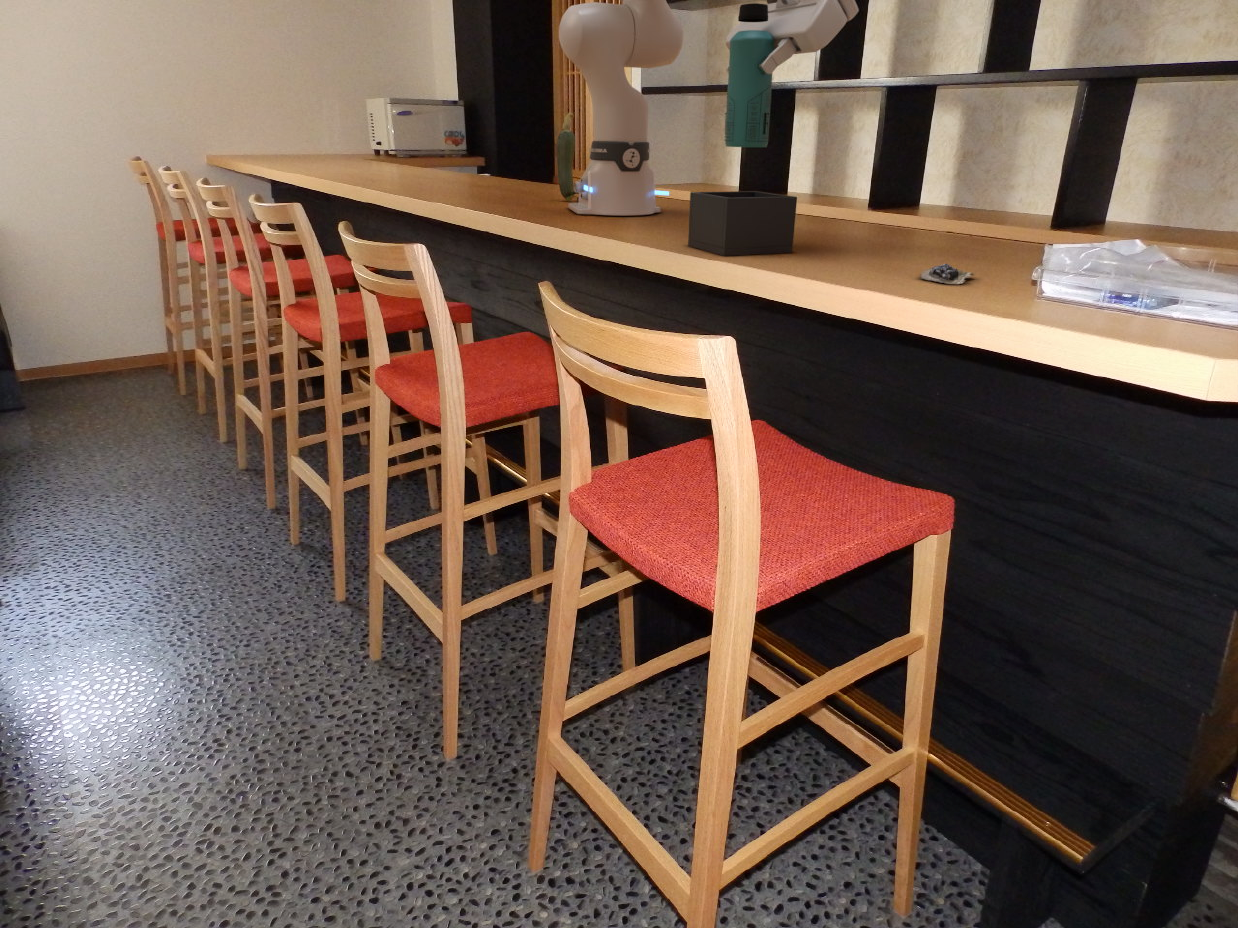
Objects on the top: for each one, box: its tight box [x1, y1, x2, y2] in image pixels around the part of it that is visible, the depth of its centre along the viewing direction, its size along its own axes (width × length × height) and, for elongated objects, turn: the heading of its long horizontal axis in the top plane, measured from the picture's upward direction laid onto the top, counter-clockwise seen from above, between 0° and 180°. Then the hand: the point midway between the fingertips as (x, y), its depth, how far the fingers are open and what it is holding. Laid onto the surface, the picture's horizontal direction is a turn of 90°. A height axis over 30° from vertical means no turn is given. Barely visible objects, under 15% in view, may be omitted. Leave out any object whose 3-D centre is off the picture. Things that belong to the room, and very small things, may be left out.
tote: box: [687, 190, 798, 257], centre depth 127 cm, size 12×12×8 cm
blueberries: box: [920, 263, 975, 285], centre depth 105 cm, size 7×8×2 cm
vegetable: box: [556, 111, 576, 202], centre depth 200 cm, size 4×4×20 cm
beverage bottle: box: [724, 2, 775, 148], centre depth 120 cm, size 6×7×20 cm
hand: (746, 72), depth 119 cm, fingers closed on beverage bottle, 6 cm apart
